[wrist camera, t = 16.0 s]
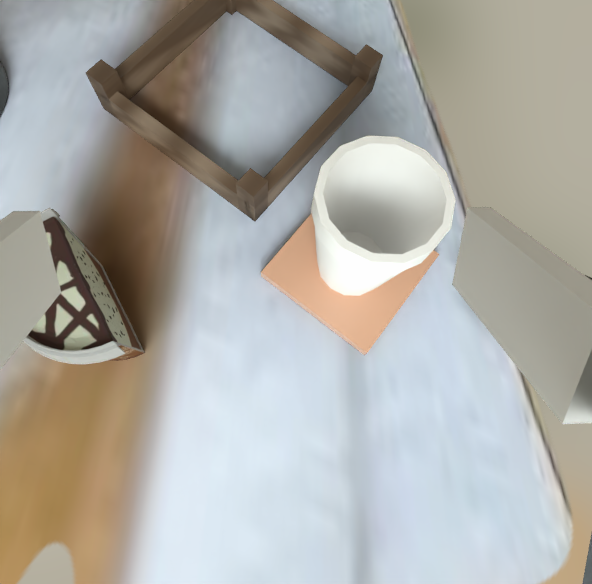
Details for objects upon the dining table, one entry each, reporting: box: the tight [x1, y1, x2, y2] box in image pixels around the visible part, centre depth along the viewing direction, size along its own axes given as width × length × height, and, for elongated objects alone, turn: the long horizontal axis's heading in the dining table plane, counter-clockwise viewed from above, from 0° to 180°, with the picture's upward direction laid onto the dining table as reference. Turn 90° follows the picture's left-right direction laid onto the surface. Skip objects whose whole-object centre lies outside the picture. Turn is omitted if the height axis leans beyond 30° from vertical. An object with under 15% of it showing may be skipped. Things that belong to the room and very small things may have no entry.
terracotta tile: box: [261, 213, 439, 355], centre depth 44 cm, size 12×12×1 cm
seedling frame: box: [86, 0, 383, 221], centre depth 46 cm, size 20×20×5 cm
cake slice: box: [23, 208, 145, 364], centre depth 36 cm, size 12×6×10 cm, turn 30°
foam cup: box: [311, 136, 455, 296], centre depth 37 cm, size 10×9×13 cm
